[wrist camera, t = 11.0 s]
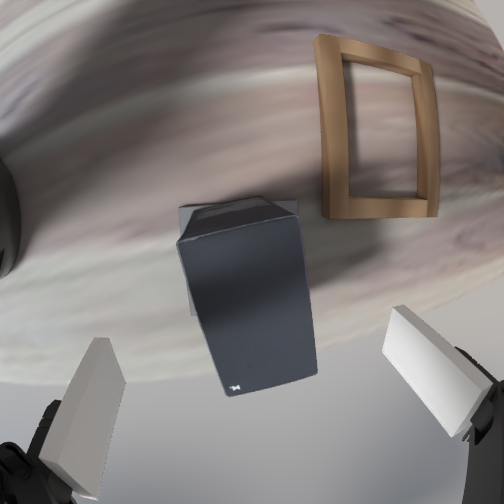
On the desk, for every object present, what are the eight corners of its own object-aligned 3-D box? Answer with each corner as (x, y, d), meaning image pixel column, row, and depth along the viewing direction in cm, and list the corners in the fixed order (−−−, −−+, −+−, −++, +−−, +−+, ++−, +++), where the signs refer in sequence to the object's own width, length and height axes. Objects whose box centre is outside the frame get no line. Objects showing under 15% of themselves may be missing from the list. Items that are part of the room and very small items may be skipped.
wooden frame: (322, 216, 25) (329, 219, 23) (313, 41, 20) (320, 33, 18) (427, 214, 26) (437, 217, 24) (420, 67, 21) (430, 63, 19)
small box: (286, 304, 26) (323, 377, 16) (219, 320, 26) (223, 401, 16) (266, 193, 23) (305, 213, 13) (189, 210, 22) (168, 243, 12)
